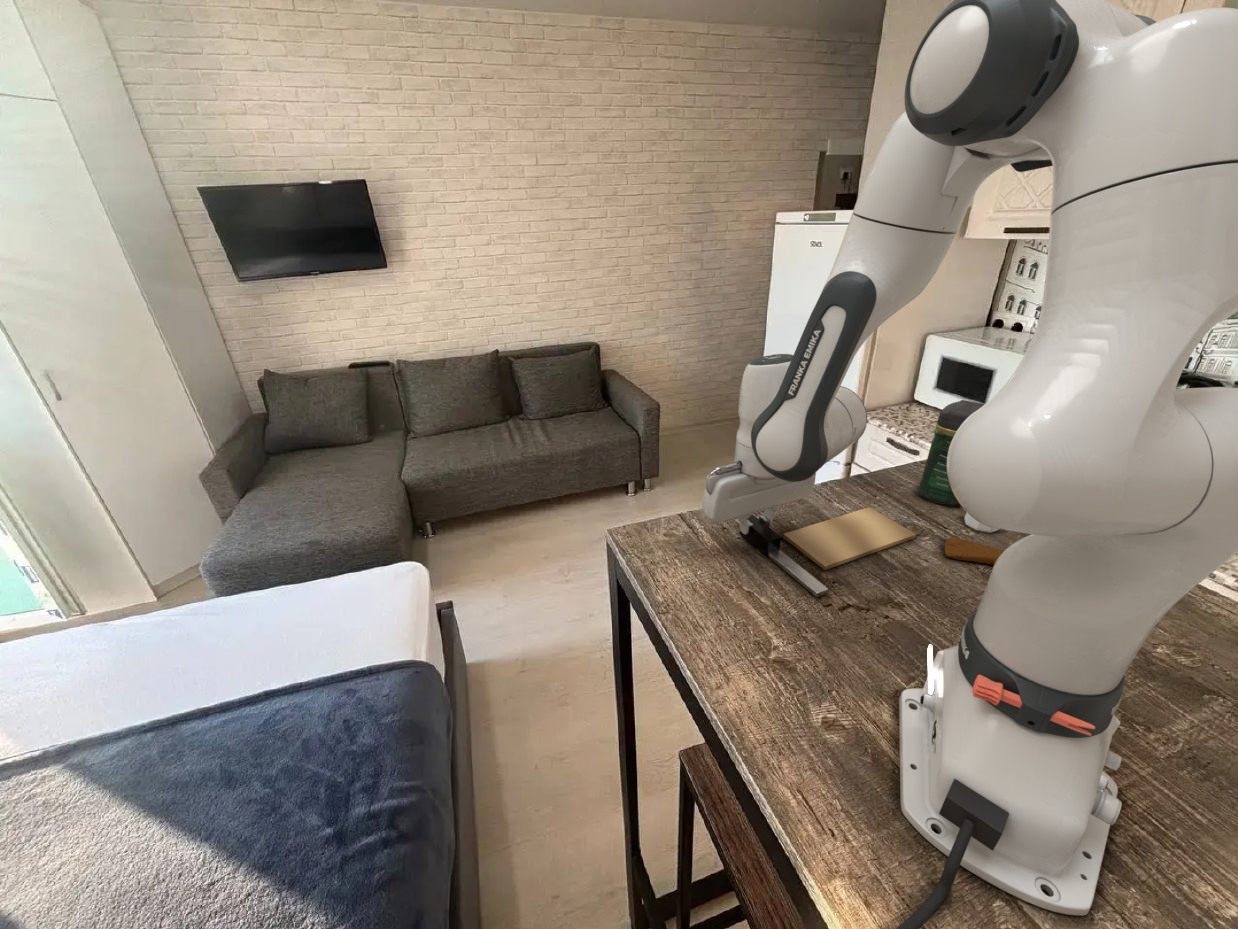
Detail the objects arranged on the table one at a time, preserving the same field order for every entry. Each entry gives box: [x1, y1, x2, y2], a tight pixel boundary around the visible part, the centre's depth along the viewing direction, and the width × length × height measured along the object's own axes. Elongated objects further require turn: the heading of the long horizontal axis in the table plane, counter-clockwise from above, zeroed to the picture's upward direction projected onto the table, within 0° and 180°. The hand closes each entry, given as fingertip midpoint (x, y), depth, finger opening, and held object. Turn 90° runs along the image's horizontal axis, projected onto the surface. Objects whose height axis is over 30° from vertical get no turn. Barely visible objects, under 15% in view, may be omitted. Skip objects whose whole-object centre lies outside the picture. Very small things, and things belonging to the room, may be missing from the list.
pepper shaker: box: [963, 512, 1000, 534], centre depth 88 cm, size 5×5×11 cm
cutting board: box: [782, 506, 917, 571], centre depth 88 cm, size 20×10×1 cm, turn 113°
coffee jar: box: [917, 399, 986, 506], centre depth 96 cm, size 10×8×19 cm
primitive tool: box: [944, 537, 1006, 566], centre depth 79 cm, size 19×6×4 cm, turn 61°
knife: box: [739, 514, 829, 598], centre depth 82 cm, size 18×3×3 cm, turn 24°
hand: (755, 528), depth 87 cm, fingers closed on knife, 2 cm apart
